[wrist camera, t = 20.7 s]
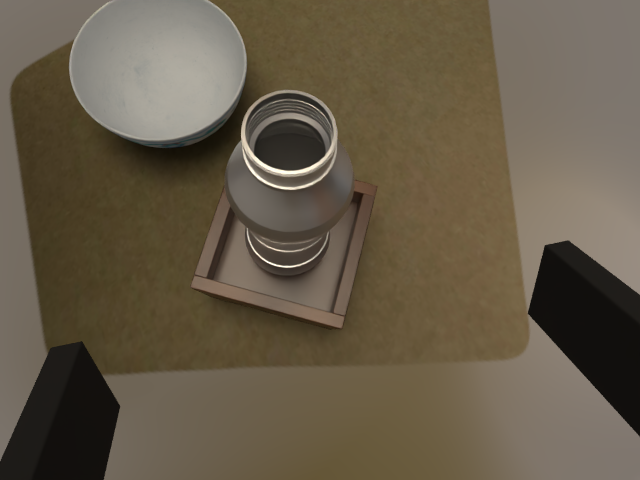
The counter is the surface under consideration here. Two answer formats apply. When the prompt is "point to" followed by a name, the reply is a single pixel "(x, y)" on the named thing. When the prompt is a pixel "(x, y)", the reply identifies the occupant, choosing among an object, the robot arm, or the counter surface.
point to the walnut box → (286, 290)
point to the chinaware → (159, 70)
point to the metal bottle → (289, 181)
